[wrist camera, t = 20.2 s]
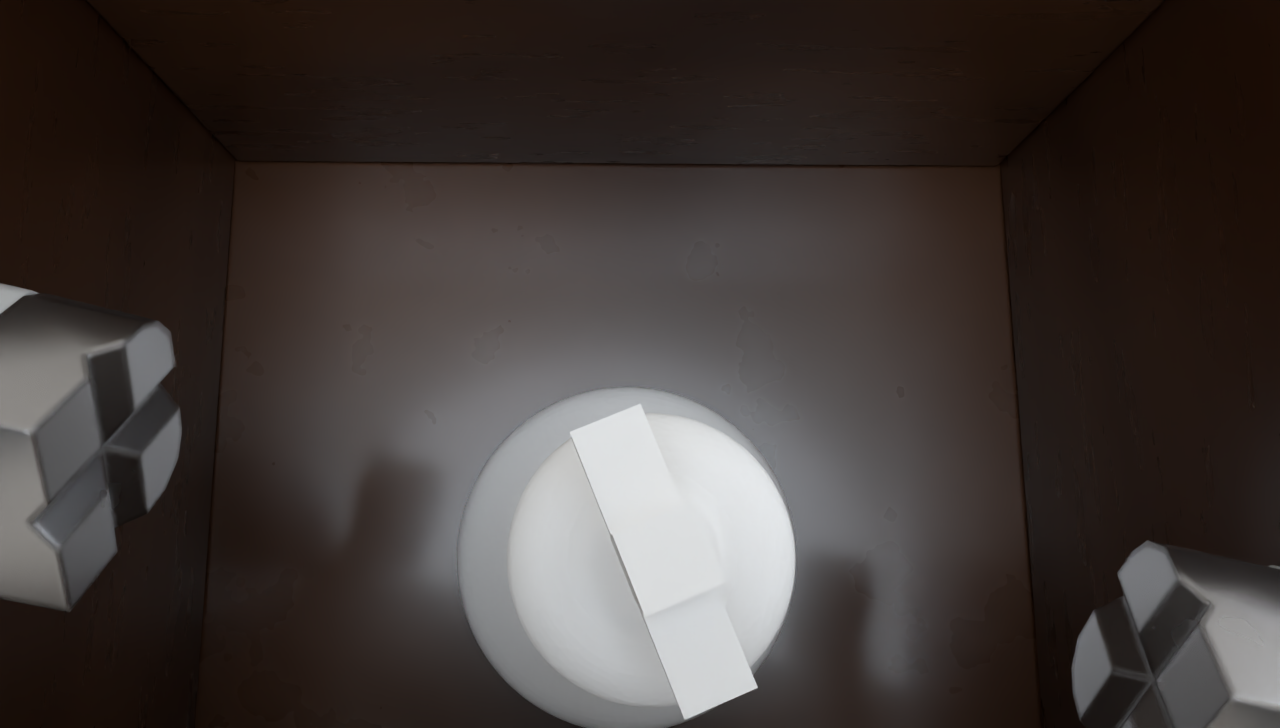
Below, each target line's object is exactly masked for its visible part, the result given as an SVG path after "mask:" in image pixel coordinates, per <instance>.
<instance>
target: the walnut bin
mask: <svg viewBox="0 0 1280 728" xmlns="http://www.w3.org/2000/svg"><path fill="white" fill-rule="evenodd" d="M0 283H2V284H6V285H11V286H15V287H19V288H24V289H28V290H32V291H35V292H37V293H47V294H51V295H55V296H59V297H63V298H67V299H71V300H75V301H80V302H84V303H88V304H92V305H96V306H100V307H104V308H108V309H112V310H116V311H121V312H125V313H129V314H133V315H137V316H141V317H145V318H149V319H153V320H157V321H159V322H160V323H162V324H163V325H164V326H165V327H166V328H167V329H168V330H169V331H171V336H172V343H173V350H174V356H175V363H176V365H175V366H174V368H173V369H172V370H171V371H170V372H169V373H168V374H167V375H166V376H165V378H164V379H163V380H162V381H161V382H160V383H161V384H162V386H163V387H164V388H165V389H166V391H167V392H168V393H169V395H170V396H171V397H172V398H173V400H174V401H175V402H176V403H177V405H178V406H179V407H180V413H181V425H182V435H181V443H180V450H179V458H178V460H177V463H176V465H175V468H174V470H173V472H172V475H171V477H170V480H169V482H168V485H167V487H166V489H165V491H164V492H163V494H162V495H161V496H160V498H159V499H158V500H157V502H156V503H155V504H154V506H153V507H152V508H151V510H150V511H149V512H148V514H146V515H143V516H141V517H139V518H137V519H134V520H132V521H130V522H128V523H125V524H123V525H121V526H119V527H116V528H114V530H115V537H116V543H117V550H118V552H117V553H116V554H115V556H114V557H113V558H112V560H111V561H110V562H109V563H108V565H107V566H106V567H105V568H104V570H103V571H102V572H101V573H100V575H99V576H98V577H97V578H96V580H95V581H94V582H93V584H92V585H91V586H90V587H89V589H88V590H87V591H86V592H85V594H84V595H83V596H82V597H81V599H80V600H79V601H78V602H77V604H76V605H75V606H74V608H73V609H72V610H71V611H70V612H66V611H61V610H55V609H50V608H45V607H40V606H35V605H29V604H24V603H19V602H14V601H9V600H4V599H0V728H585V727H581V726H578V725H574V724H571V723H569V722H566V721H563V720H561V719H559V718H557V717H554V716H552V715H550V714H548V713H546V712H545V711H543V710H541V709H540V708H538V707H536V706H535V705H533V704H532V703H530V702H529V701H528V700H526V699H525V698H523V697H522V696H521V695H520V694H519V693H517V692H516V691H515V690H514V689H513V688H512V687H511V686H510V685H509V684H508V683H507V682H506V681H505V680H504V679H503V678H502V677H501V676H500V675H499V674H498V672H497V671H496V670H495V669H494V668H493V666H492V665H491V664H490V662H489V661H488V659H487V658H486V656H485V655H484V653H483V652H482V650H481V648H480V647H479V645H478V643H477V641H476V639H475V637H474V635H473V633H472V631H471V628H470V626H469V623H468V621H467V618H466V615H465V612H464V608H463V605H462V601H461V596H460V591H459V585H458V576H457V544H458V536H459V529H460V524H461V519H462V516H463V512H464V509H465V505H466V502H467V500H468V497H469V494H470V492H471V490H472V487H473V485H474V483H475V481H476V479H477V477H478V476H479V474H480V472H481V470H482V469H483V467H484V465H485V464H486V462H487V461H488V459H489V458H490V457H491V455H492V454H493V453H494V451H495V450H496V449H497V448H498V447H499V445H500V444H501V443H502V442H503V441H504V440H505V439H506V438H507V437H508V436H509V435H510V434H511V433H512V432H513V431H514V430H515V429H516V428H518V427H519V426H520V425H521V424H522V423H524V422H525V421H526V420H528V419H529V418H530V417H532V416H533V415H535V414H536V413H538V412H539V411H541V410H543V409H545V408H546V407H548V406H550V405H552V404H554V403H556V402H558V401H561V400H563V399H565V398H568V397H571V396H574V395H577V394H580V393H584V392H588V391H592V390H597V389H603V388H612V387H643V388H651V389H657V390H662V391H667V392H670V393H674V394H677V395H680V396H683V397H686V398H689V399H691V400H693V401H696V402H698V403H700V404H702V405H704V406H706V407H708V408H709V409H711V410H713V411H715V412H716V413H718V414H719V415H721V416H722V417H724V418H725V419H726V420H728V421H729V422H730V423H732V424H733V425H734V426H735V427H737V428H738V429H739V430H740V431H741V432H742V433H743V434H744V435H745V436H746V437H747V438H748V439H749V440H750V441H751V442H752V443H753V444H754V445H755V447H756V448H757V449H758V450H759V452H760V453H761V454H762V455H763V457H764V458H765V460H766V461H767V463H768V464H769V466H770V467H771V469H772V471H773V472H774V474H775V476H776V478H777V480H778V482H779V484H780V486H781V488H782V490H783V493H784V495H785V498H786V501H787V503H788V507H789V510H790V513H791V517H792V522H793V526H794V532H795V540H796V554H797V564H796V579H795V586H794V592H793V597H792V601H791V605H790V609H789V612H788V615H787V618H786V621H785V623H784V626H783V628H782V631H781V633H780V635H779V637H778V639H777V641H776V643H775V645H774V647H773V648H772V650H771V652H770V653H769V655H768V656H767V658H766V659H765V661H764V662H763V663H762V665H761V666H760V667H759V669H758V670H757V671H756V672H755V673H754V675H753V677H754V679H755V682H756V684H757V686H758V688H756V689H754V690H752V691H750V692H747V693H745V694H743V695H740V696H738V697H736V698H734V699H731V700H729V701H727V702H724V703H722V704H720V705H718V706H716V707H715V708H713V709H711V710H710V711H708V712H706V713H704V714H702V715H700V716H698V717H696V718H694V719H692V720H689V721H687V722H684V723H681V724H678V725H675V726H671V727H668V728H1086V726H1085V725H1084V724H1083V723H1082V722H1081V721H1080V720H1079V716H1078V712H1077V708H1076V704H1075V700H1074V697H1073V689H1072V670H1071V668H1072V663H1073V658H1074V654H1075V649H1076V644H1077V639H1078V636H1079V635H1080V633H1081V631H1082V629H1083V628H1084V626H1085V624H1086V622H1087V621H1088V619H1089V617H1090V615H1091V614H1092V612H1093V610H1095V609H1097V608H1099V607H1101V606H1103V605H1105V604H1107V603H1109V602H1111V601H1113V600H1115V599H1117V598H1119V597H1121V596H1124V595H1123V592H1122V588H1121V585H1120V581H1119V578H1118V574H1117V573H1118V571H1119V570H1120V568H1121V567H1122V565H1123V564H1124V562H1125V561H1126V559H1127V558H1128V556H1129V555H1130V553H1131V552H1132V551H1133V550H1135V549H1136V548H1137V547H1139V546H1140V545H1142V544H1143V543H1144V542H1146V541H1147V540H1149V541H1153V542H1158V543H1163V544H1167V545H1172V546H1176V547H1181V548H1186V549H1190V550H1195V551H1200V552H1204V553H1209V554H1213V555H1218V556H1223V557H1227V558H1232V559H1237V560H1241V561H1246V562H1250V563H1255V564H1260V565H1264V566H1271V565H1274V566H1279V567H1280V0H0Z"/></svg>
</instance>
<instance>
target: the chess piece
mask: <svg viewBox="0 0 1280 728" xmlns="http://www.w3.org/2000/svg"><path fill="white" fill-rule="evenodd" d="M796 564H797V554H796V540H795V532H794V526H793V522H792V517H791V513H790V510H789V507H788V503H787V501H786V498H785V495H784V493H783V490H782V488H781V486H780V484H779V482H778V480H777V478H776V476H775V474H774V472H773V471H772V469H771V467H770V466H769V464H768V463H767V461H766V460H765V458H764V457H763V455H762V454H761V453H760V452H759V450H758V449H757V448H756V447H755V445H754V444H753V443H752V442H751V441H750V440H749V439H748V438H747V437H746V436H745V435H744V434H743V433H742V432H741V431H740V430H739V429H738V428H737V427H735V426H734V425H733V424H732V423H730V422H729V421H728V420H726V419H725V418H724V417H722V416H721V415H719V414H718V413H716V412H715V411H713V410H711V409H709V408H708V407H706V406H704V405H702V404H700V403H698V402H696V401H693V400H691V399H689V398H686V397H683V396H680V395H677V394H674V393H670V392H667V391H662V390H657V389H651V388H643V387H612V388H603V389H597V390H592V391H588V392H584V393H580V394H577V395H574V396H571V397H568V398H565V399H563V400H561V401H558V402H556V403H554V404H552V405H550V406H548V407H546V408H545V409H543V410H541V411H539V412H538V413H536V414H535V415H533V416H532V417H530V418H529V419H528V420H526V421H525V422H524V423H522V424H521V425H520V426H519V427H518V428H516V429H515V430H514V431H513V432H512V433H511V434H510V435H509V436H508V437H507V438H506V439H505V440H504V441H503V442H502V443H501V444H500V445H499V447H498V448H497V449H496V450H495V451H494V453H493V454H492V455H491V457H490V458H489V459H488V461H487V462H486V464H485V465H484V467H483V469H482V470H481V472H480V474H479V476H478V477H477V479H476V481H475V483H474V485H473V487H472V490H471V492H470V494H469V497H468V500H467V502H466V505H465V509H464V512H463V516H462V519H461V524H460V529H459V536H458V544H457V576H458V585H459V591H460V596H461V601H462V605H463V608H464V612H465V615H466V618H467V621H468V623H469V626H470V628H471V631H472V633H473V635H474V637H475V639H476V641H477V643H478V645H479V647H480V648H481V650H482V652H483V653H484V655H485V656H486V658H487V659H488V661H489V662H490V664H491V665H492V666H493V668H494V669H495V670H496V671H497V672H498V674H499V675H500V676H501V677H502V678H503V679H504V680H505V681H506V682H507V683H508V684H509V685H510V686H511V687H512V688H513V689H514V690H515V691H516V692H517V693H519V694H520V695H521V696H522V697H523V698H525V699H526V700H528V701H529V702H530V703H532V704H533V705H535V706H536V707H538V708H540V709H541V710H543V711H545V712H546V713H548V714H550V715H552V716H554V717H557V718H559V719H561V720H563V721H566V722H569V723H571V724H574V725H578V726H581V727H585V728H668V727H671V726H675V725H678V724H681V723H684V722H687V721H689V720H692V719H694V718H696V717H698V716H700V715H702V714H704V713H706V712H708V711H710V710H711V709H713V708H715V707H716V706H718V705H720V704H722V703H724V702H727V701H729V700H731V699H734V698H736V697H738V696H740V695H743V694H745V693H747V692H750V691H752V690H754V689H756V688H758V686H757V684H756V682H755V679H754V677H753V675H754V673H755V672H756V671H757V670H758V669H759V667H760V666H761V665H762V663H763V662H764V661H765V659H766V658H767V656H768V655H769V653H770V652H771V650H772V648H773V647H774V645H775V643H776V641H777V639H778V637H779V635H780V633H781V631H782V628H783V626H784V623H785V621H786V618H787V615H788V612H789V609H790V605H791V601H792V597H793V592H794V586H795V579H796Z"/></svg>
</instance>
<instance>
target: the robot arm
mask: <svg viewBox="0 0 1280 728" xmlns="http://www.w3.org/2000/svg"><path fill="white" fill-rule="evenodd" d="M175 365H176V363H175V356H174V350H173V343H172V336H171V331H169V330H168V329H167V328H166V327H165V326H164V325H163V324H162V323H160V322H159V321H157V320H153V319H149V318H145V317H141V316H137V315H133V314H129V313H125V312H121V311H116V310H112V309H108V308H104V307H100V306H96V305H92V304H88V303H84V302H80V301H75V300H71V299H67V298H63V297H59V296H55V295H51V294H47V293H37V292H35V291H32V290H28V289H24V288H19V287H15V286H11V285H6V284H2V283H0V599H4V600H9V601H14V602H19V603H24V604H29V605H35V606H40V607H45V608H50V609H55V610H61V611H66V612H70V611H71V610H72V609H73V608H74V606H75V605H76V604H77V602H78V601H79V600H80V599H81V597H82V596H83V595H84V594H85V592H86V591H87V590H88V589H89V587H90V586H91V585H92V584H93V582H94V581H95V580H96V578H97V577H98V576H99V575H100V573H101V572H102V571H103V570H104V568H105V567H106V566H107V565H108V563H109V562H110V561H111V560H112V558H113V557H114V556H115V554H116V553H117V552H118V550H117V543H116V537H115V530H114V528H116V527H119V526H121V525H123V524H125V523H128V522H130V521H132V520H134V519H137V518H139V517H141V516H143V515H146V514H148V512H149V511H150V510H151V508H152V507H153V506H154V504H155V503H156V502H157V500H158V499H159V498H160V496H161V495H162V494H163V492H164V491H165V489H166V487H167V485H168V482H169V480H170V477H171V475H172V472H173V470H174V468H175V465H176V463H177V460H178V458H179V450H180V443H181V435H182V425H181V413H180V407H179V406H178V405H177V403H176V402H175V401H174V400H173V398H172V397H171V396H170V395H169V393H168V392H167V391H166V389H165V388H164V387H163V386H162V384H161V383H160V382H161V381H162V380H163V379H164V378H165V376H166V375H167V374H168V373H169V372H170V371H171V370H172V369H173V368H174V366H175ZM1117 574H1118V578H1119V581H1120V585H1121V588H1122V592H1123V595H1124V596H1121V597H1119V598H1117V599H1115V600H1113V601H1111V602H1109V603H1107V604H1105V605H1103V606H1101V607H1099V608H1097V609H1095V610H1093V612H1092V614H1091V615H1090V617H1089V619H1088V621H1087V622H1086V624H1085V626H1084V628H1083V629H1082V631H1081V633H1080V635H1079V636H1078V639H1077V644H1076V649H1075V654H1074V658H1073V663H1072V668H1071V670H1072V689H1073V697H1074V700H1075V704H1076V708H1077V712H1078V716H1079V720H1080V721H1081V722H1082V723H1083V724H1084V725H1085V726H1086V728H1280V567H1279V566H1274V565H1271V566H1264V565H1260V564H1255V563H1250V562H1246V561H1241V560H1237V559H1232V558H1227V557H1223V556H1218V555H1213V554H1209V553H1204V552H1200V551H1195V550H1190V549H1186V548H1181V547H1176V546H1172V545H1167V544H1163V543H1158V542H1153V541H1149V540H1147V541H1146V542H1144V543H1143V544H1142V545H1140V546H1139V547H1137V548H1136V549H1135V550H1133V551H1132V552H1131V553H1130V555H1129V556H1128V558H1127V559H1126V561H1125V562H1124V564H1123V565H1122V567H1121V568H1120V570H1119V571H1118V573H1117Z"/></svg>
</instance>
